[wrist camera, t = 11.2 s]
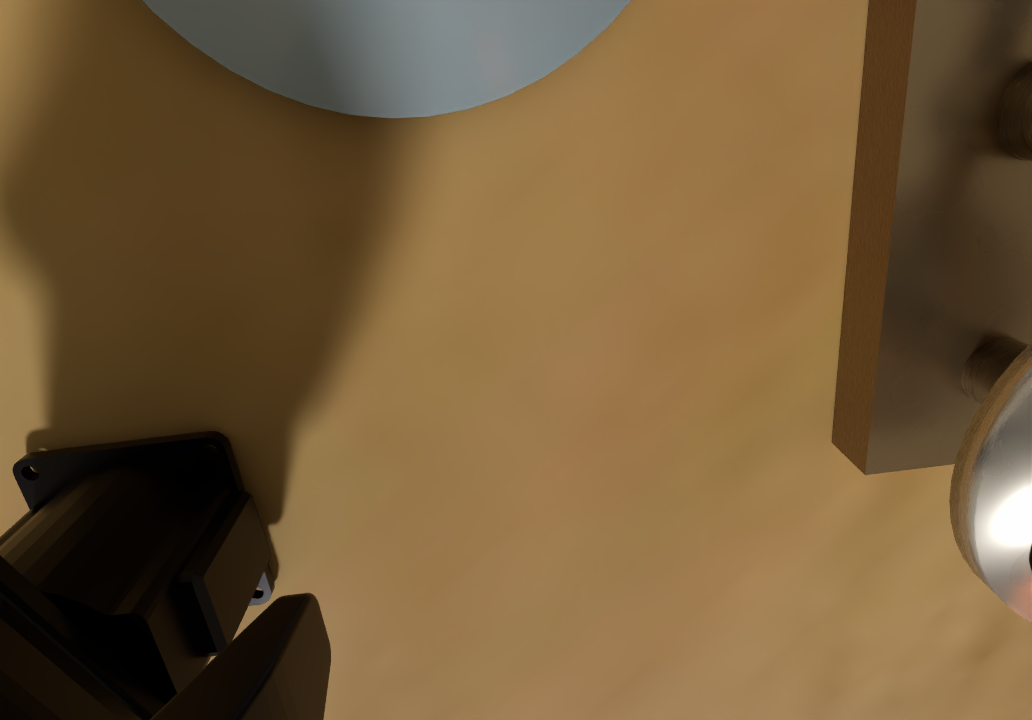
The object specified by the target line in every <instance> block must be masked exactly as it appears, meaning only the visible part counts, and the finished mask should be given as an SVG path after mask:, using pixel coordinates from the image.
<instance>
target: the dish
mask: <svg viewBox="0 0 1032 720" xmlns="http://www.w3.org/2000/svg"><path fill="white" fill-rule="evenodd" d="M142 1H143V2H144V3H145V4H146V5H147V6H148V7H149V8H150V9H151V10H152V11H153V12H154V13H155V14H156V15H157V16H158V17H160V18H161V19H162V20H163V21H164V22H165V23H167V24H168V25H169V26H170V27H171V28H172V29H174V30H175V31H176V32H177V33H178V34H179V35H181V36H182V37H183V38H184V39H185V40H186V41H188V42H189V43H190V44H191V45H193V46H194V47H196V48H197V49H199V50H200V51H202V52H203V53H205V54H206V55H208V56H209V57H211V58H212V59H214V60H215V61H217V62H218V63H220V64H221V65H222V66H224V67H225V68H227V69H228V70H230V71H232V72H234V73H236V74H238V75H240V76H242V77H244V78H246V79H248V80H249V81H251V82H253V83H255V84H257V85H259V86H261V87H263V88H265V89H267V90H269V91H271V92H274V93H277V94H280V95H282V96H285V97H288V98H290V99H293V100H296V101H299V102H301V103H304V104H307V105H309V106H314V107H318V108H322V109H327V110H331V111H336V112H340V113H344V114H349V115H358V116H369V117H380V118H409V117H430V116H435V115H440V114H446V113H451V112H456V111H461V110H467V109H471V108H474V107H476V106H479V105H482V104H485V103H488V102H491V101H494V100H497V99H500V98H503V97H506V96H508V95H510V94H512V93H514V92H516V91H518V90H520V89H522V88H524V87H526V86H528V85H530V84H532V83H534V82H536V81H538V80H540V79H542V78H543V77H545V76H546V75H548V74H549V73H551V72H552V71H554V70H555V69H557V68H558V67H559V66H561V65H562V64H564V63H565V62H567V61H568V60H570V59H571V58H572V57H574V56H575V55H577V54H578V53H579V52H580V51H581V50H583V49H584V48H585V47H586V46H587V45H588V44H589V43H590V42H591V41H592V40H594V39H595V38H596V37H597V36H598V35H599V34H600V33H601V32H602V31H604V30H605V29H606V28H607V27H608V26H609V25H610V24H611V23H612V22H613V21H614V19H615V18H616V17H617V16H618V15H619V14H620V12H621V11H622V10H623V9H624V8H625V7H626V5H627V4H628V3H629V2H630V1H631V0H142Z"/></svg>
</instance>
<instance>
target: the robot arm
mask: <svg viewBox="0 0 1032 720" xmlns="http://www.w3.org/2000/svg"><path fill="white" fill-rule="evenodd" d="M206 444H209V445H213V446H214V447H216V449H217V450H218V452H211V451H210V450H208V449H207V447H206ZM30 466H31V467H33V468H35V469H36V470H37V471H38V472H39V473H36V472H34V471H33V470H32V469H31V468H30ZM13 474H14V477H15V479H16V481H17V483H18V485H19V487H20V490H21V492H22V494H23V496H24V498H25V500H26V502H27V504H28V507H29V509H30V511H29V512H28V513H26V514H25V515H24V516H23V517H22V518H21V519H20V520H19V521H18V522H16V523H15V524H14V525H13V526H12V527H11V528H10V529H9V530H8V531H6V532H5V533H4V534H3V535H2V536H1V537H0V720H323V718H324V711H325V703H326V696H327V688H328V680H329V673H330V665H331V648H330V642H329V638H328V635H327V631H326V628H325V624H324V621H323V617H322V614H321V610H320V607H319V603H318V601H317V599H316V597H315V596H314V595H313V594H311V593H302V594H294V595H286V596H282V597H279V598H278V599H276V600H275V601H274V602H273V603H272V604H271V605H270V606H269V607H268V608H267V609H265V610H264V611H263V612H262V613H261V614H260V615H259V616H258V617H257V618H256V619H255V620H254V621H253V622H252V623H251V624H250V625H249V626H248V627H247V628H246V629H244V630H243V631H242V632H241V633H240V634H239V635H238V636H237V637H236V638H235V639H234V640H233V638H234V636H235V634H236V631H237V629H238V627H239V625H240V623H241V621H242V618H243V616H244V614H245V612H246V610H247V608H248V606H251V605H260V604H263V603H266V602H267V601H268V600H269V599H270V597H271V595H272V592H273V590H274V588H275V586H274V580H273V577H272V574H271V571H270V568H269V565H268V562H269V560H270V558H271V554H270V550H269V547H268V544H267V541H266V538H265V534H264V531H263V528H262V525H261V522H260V518H259V515H258V512H257V509H256V505H255V502H254V499H253V496H252V495H251V494H250V493H249V492H248V491H246V490H245V488H244V485H243V482H242V479H241V476H240V473H239V469H238V466H237V463H236V460H235V457H234V454H233V450H232V447H231V444H230V442H229V440H228V438H227V437H225V436H224V435H223V434H221V433H219V432H216V431H207V432H199V433H190V434H182V435H174V436H166V437H157V438H149V439H141V440H133V441H124V442H116V443H108V444H100V445H91V446H83V447H75V448H67V449H58V450H50V451H42V452H34V453H30V454H27V455H25V456H24V457H23V458H21V459H20V460H19V461H18V462H16V463H15V464H14V467H13ZM1029 564H1030V568H1031V571H1032V544H1031V549H1030V553H1029ZM257 587H259V588H261V589H262V591H260V590H256V588H257ZM232 640H233V641H232ZM211 656H216V657H215V658H214V659H213V660H212V661H211V662H210V663H209V664H208V662H209V660H210V657H211ZM207 664H208V665H207Z"/></svg>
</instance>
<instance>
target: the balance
mask: <svg viewBox="0 0 1032 720" xmlns="http://www.w3.org/2000/svg"><path fill="white" fill-rule="evenodd" d="M832 443H833V444H834V445H835V446H836V447H837V448H838V449H839V450H840V451H841V452H842V453H843V454H844V455H845V456H846V457H847V458H848V459H849V460H850V461H851V462H852V463H853V464H854V465H855V466H856V467H857V468H858V469H859V470H860V471H861V472H863V473H864V474H865V475H869V474H877V473H885V472H893V471H901V470H909V469H918V468H926V467H934V466H942V465H950V464H955V466H954V470H953V474H952V479H951V489H950V500H949V502H950V517H951V524H952V529H953V533H954V537H955V541H956V543H957V545H958V547H959V550H960V552H961V554H962V556H963V558H964V560H965V561H966V563H967V564H968V566H969V567H970V568H971V570H972V571H973V573H974V574H975V575H976V576H977V577H978V578H979V579H980V580H981V581H982V582H983V583H984V584H985V585H987V586H988V587H989V588H990V589H991V590H992V591H993V592H994V593H995V594H996V595H997V596H998V597H999V598H1000V599H1001V600H1002V601H1003V602H1004V603H1005V604H1006V605H1007V606H1008V607H1010V608H1011V609H1012V610H1013V611H1014V612H1015V613H1017V614H1018V615H1020V616H1021V617H1023V618H1024V619H1026V620H1027V621H1029V622H1031V623H1032V571H1031V568H1030V564H1029V553H1030V549H1031V544H1032V0H869V8H868V20H867V32H866V44H865V56H864V67H863V79H862V91H861V103H860V115H859V127H858V138H857V150H856V162H855V174H854V186H853V197H852V209H851V221H850V233H849V245H848V257H847V268H846V280H845V292H844V304H843V316H842V327H841V339H840V351H839V363H838V375H837V387H836V398H835V410H834V422H833V434H832Z"/></svg>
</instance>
